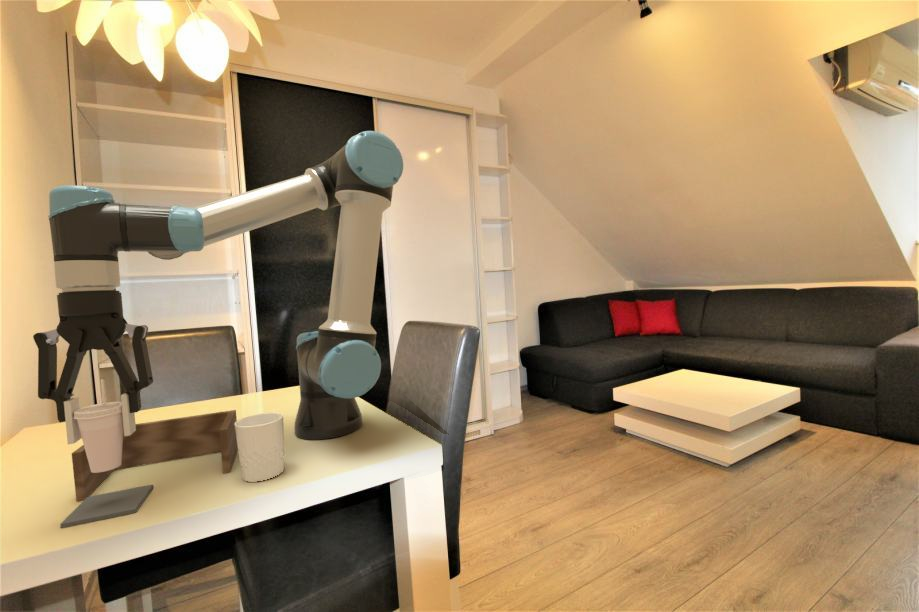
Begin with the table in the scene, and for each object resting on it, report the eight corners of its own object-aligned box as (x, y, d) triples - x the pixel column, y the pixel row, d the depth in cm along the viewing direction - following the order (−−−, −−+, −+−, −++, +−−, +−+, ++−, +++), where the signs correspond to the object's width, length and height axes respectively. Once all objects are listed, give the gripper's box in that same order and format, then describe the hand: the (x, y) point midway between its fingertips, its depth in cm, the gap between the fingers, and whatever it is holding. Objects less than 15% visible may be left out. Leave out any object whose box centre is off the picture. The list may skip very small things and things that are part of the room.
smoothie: (134, 466, 67) (126, 378, 66) (80, 480, 62) (70, 386, 62) (129, 456, 71) (121, 373, 71) (77, 469, 67) (69, 381, 66)
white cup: (233, 475, 76) (228, 420, 76) (277, 461, 82) (273, 409, 81) (248, 488, 71) (243, 429, 70) (294, 472, 76) (290, 417, 76)
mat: (153, 487, 73) (153, 484, 73) (135, 512, 65) (135, 508, 65) (88, 500, 70) (87, 496, 70) (60, 528, 61) (60, 524, 61)
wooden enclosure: (238, 446, 91) (235, 409, 90) (230, 472, 78) (226, 429, 77) (110, 468, 83) (106, 428, 82) (76, 501, 70) (71, 453, 69)
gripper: (169, 287, 73) (180, 420, 74) (22, 293, 65) (36, 440, 67) (157, 286, 66) (169, 433, 67) (-10, 293, 58) (7, 457, 60)
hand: (103, 436), depth 67 cm, fingers closed on smoothie, 6 cm apart
